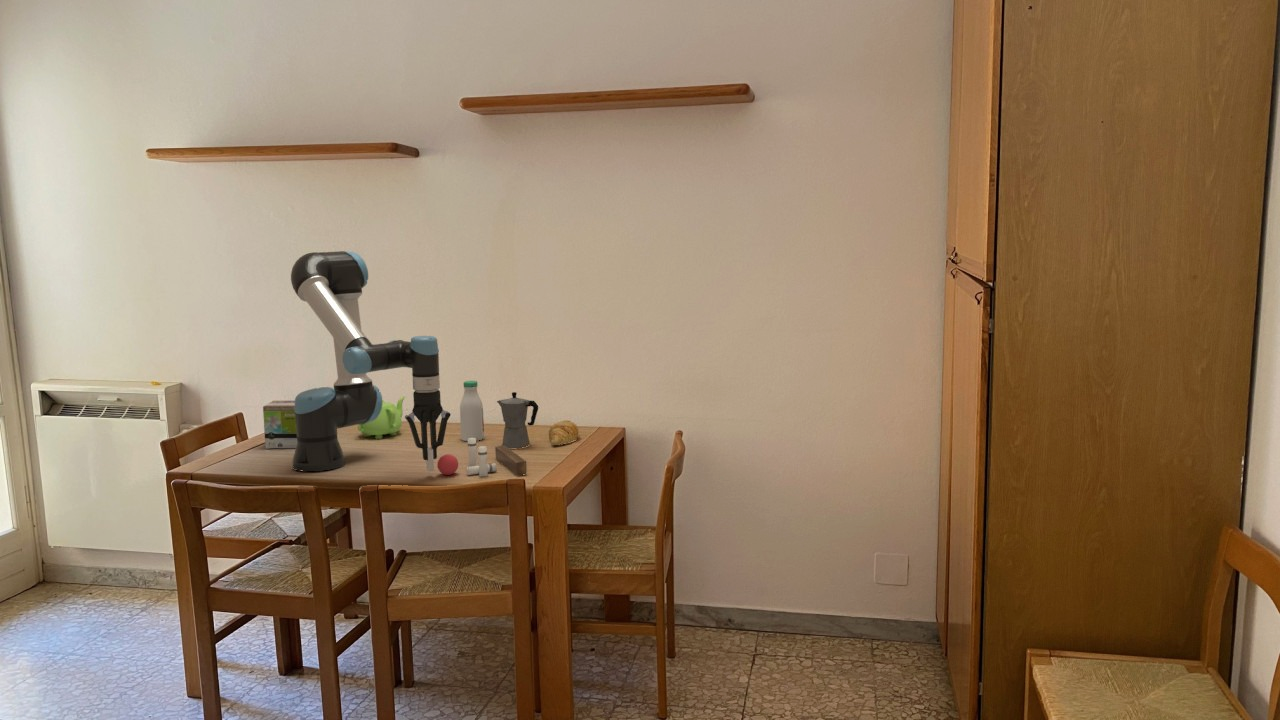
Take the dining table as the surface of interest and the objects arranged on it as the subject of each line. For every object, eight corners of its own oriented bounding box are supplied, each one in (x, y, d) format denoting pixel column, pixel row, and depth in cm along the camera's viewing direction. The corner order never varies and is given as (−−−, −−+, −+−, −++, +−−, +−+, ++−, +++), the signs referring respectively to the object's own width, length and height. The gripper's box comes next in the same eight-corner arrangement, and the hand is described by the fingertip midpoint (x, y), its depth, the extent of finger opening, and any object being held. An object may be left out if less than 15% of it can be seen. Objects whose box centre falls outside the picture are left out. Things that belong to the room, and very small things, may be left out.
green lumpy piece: (368, 430, 334) (365, 395, 332) (407, 429, 333) (405, 394, 332) (354, 440, 318) (351, 404, 316) (395, 439, 317) (393, 403, 316)
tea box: (264, 449, 306) (261, 405, 304) (275, 442, 316) (272, 399, 314) (311, 448, 307) (308, 404, 305) (320, 441, 317) (317, 399, 315)
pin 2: (480, 477, 269) (479, 448, 268) (477, 475, 271) (476, 446, 270) (489, 476, 270) (488, 447, 269) (486, 473, 272) (485, 445, 271)
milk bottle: (481, 441, 313) (479, 383, 310) (459, 442, 313) (456, 383, 310) (486, 436, 320) (483, 379, 317) (463, 437, 320) (461, 379, 317)
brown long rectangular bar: (516, 476, 269) (516, 462, 269) (495, 459, 289) (495, 446, 289) (526, 474, 271) (526, 461, 270) (505, 458, 290) (504, 445, 290)
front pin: (466, 475, 272) (494, 471, 276) (468, 475, 270) (497, 471, 273) (465, 466, 272) (493, 462, 276) (468, 466, 270) (496, 462, 273)
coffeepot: (491, 447, 305) (489, 393, 302) (506, 441, 313) (504, 388, 310) (531, 451, 298) (530, 396, 296) (546, 445, 307) (544, 391, 304)
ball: (458, 452, 270) (461, 473, 270) (454, 452, 276) (457, 472, 276) (437, 456, 268) (441, 477, 268) (434, 455, 273) (437, 476, 273)
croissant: (562, 458, 303) (573, 438, 301) (536, 443, 304) (546, 423, 302) (580, 442, 323) (590, 422, 322) (555, 428, 325) (565, 408, 323)
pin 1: (469, 467, 280) (468, 440, 278) (467, 465, 282) (466, 438, 281) (478, 466, 281) (477, 439, 279) (476, 464, 283) (474, 437, 282)
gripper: (406, 394, 260) (410, 476, 264) (452, 390, 266) (455, 470, 269) (401, 390, 267) (405, 470, 271) (446, 386, 272) (449, 464, 276)
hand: (430, 470), depth 270 cm, fingers closed
